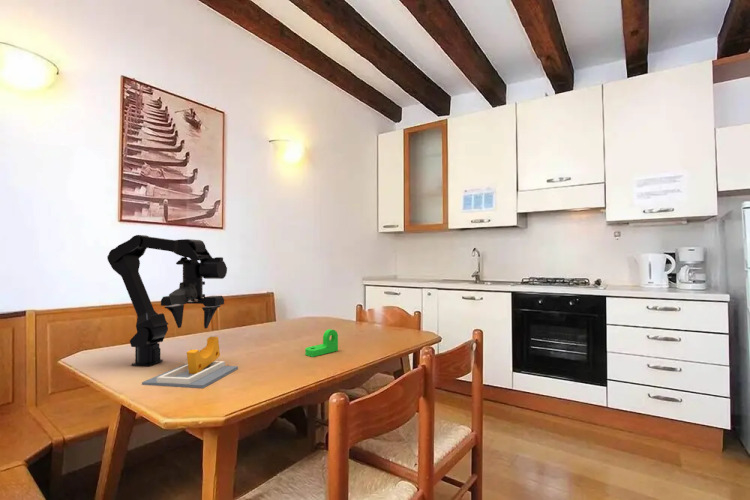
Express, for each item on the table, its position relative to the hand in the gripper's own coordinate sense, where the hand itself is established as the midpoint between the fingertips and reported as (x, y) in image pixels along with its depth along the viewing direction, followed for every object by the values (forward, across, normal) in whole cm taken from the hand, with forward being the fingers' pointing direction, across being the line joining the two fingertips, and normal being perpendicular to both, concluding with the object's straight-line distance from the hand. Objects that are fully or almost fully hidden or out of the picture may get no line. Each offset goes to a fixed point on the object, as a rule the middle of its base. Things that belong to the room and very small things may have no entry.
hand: (192, 328), depth 124 cm
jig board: (+12, +7, -10) cm, 17 cm away
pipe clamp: (+10, +6, -4) cm, 13 cm away
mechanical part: (+12, +35, +24) cm, 44 cm away
